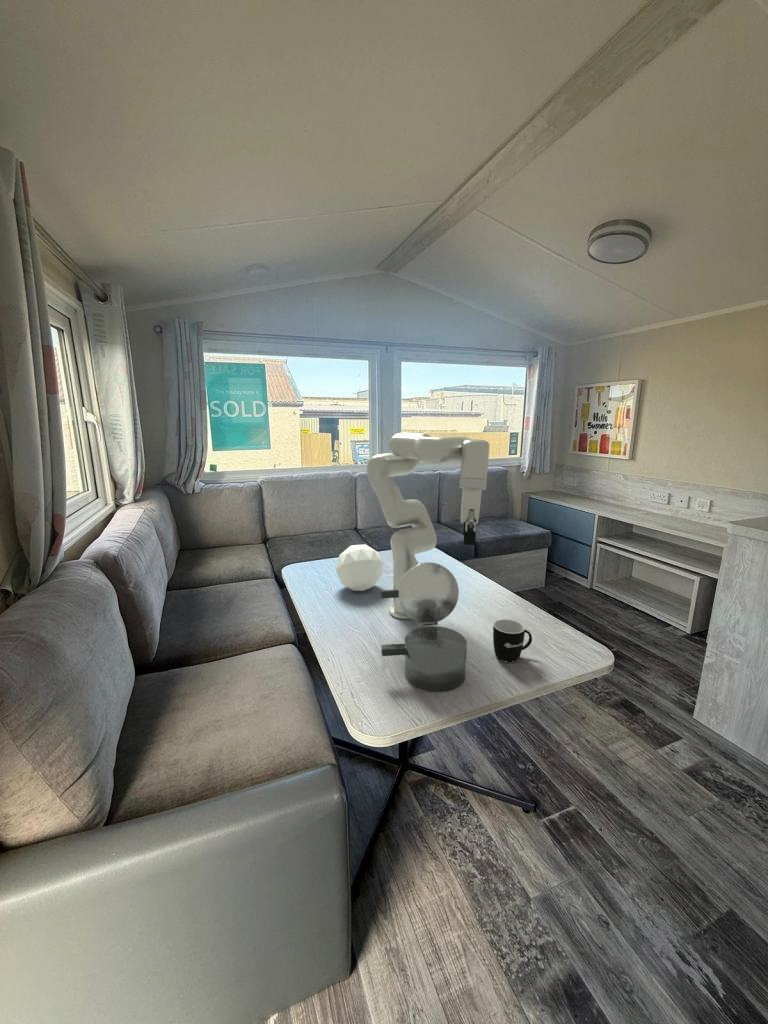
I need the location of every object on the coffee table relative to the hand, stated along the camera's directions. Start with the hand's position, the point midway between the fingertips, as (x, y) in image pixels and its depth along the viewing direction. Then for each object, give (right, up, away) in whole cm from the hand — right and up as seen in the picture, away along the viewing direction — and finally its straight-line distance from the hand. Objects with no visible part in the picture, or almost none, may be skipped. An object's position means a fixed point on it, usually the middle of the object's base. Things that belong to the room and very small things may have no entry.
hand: (468, 539), depth 126 cm
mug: (+13, -36, +1) cm, 38 cm away
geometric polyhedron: (-36, -24, +52) cm, 68 cm away
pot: (-14, -37, -8) cm, 41 cm away
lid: (-15, -16, -2) cm, 22 cm away
